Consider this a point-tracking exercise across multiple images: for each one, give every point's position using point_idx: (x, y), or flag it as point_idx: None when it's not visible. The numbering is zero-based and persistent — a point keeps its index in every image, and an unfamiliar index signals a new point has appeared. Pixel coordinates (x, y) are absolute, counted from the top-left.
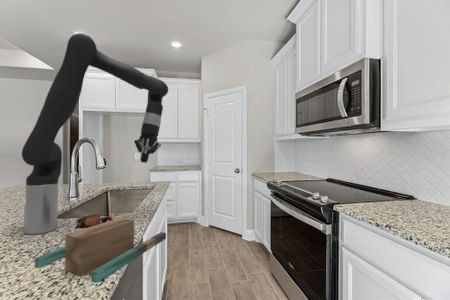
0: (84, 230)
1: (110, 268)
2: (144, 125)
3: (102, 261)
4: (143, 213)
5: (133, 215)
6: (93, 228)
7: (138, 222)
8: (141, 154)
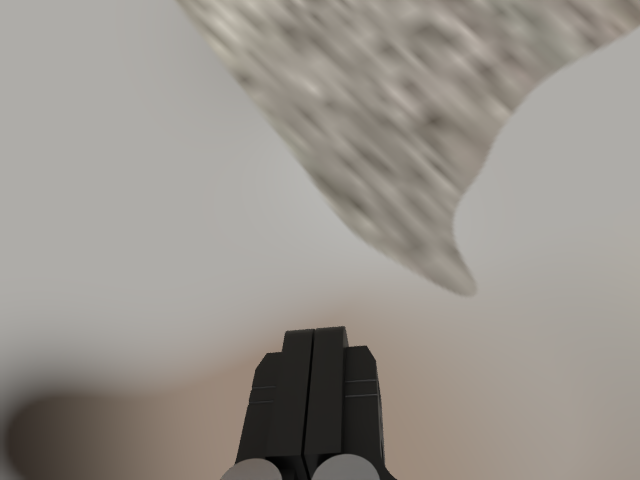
0: None
1: None
2: None
3: None
4: (392, 230)
5: (417, 171)
6: None
7: (278, 78)
8: (378, 447)
